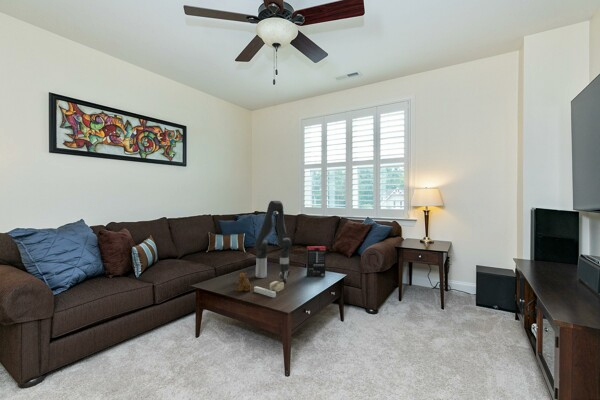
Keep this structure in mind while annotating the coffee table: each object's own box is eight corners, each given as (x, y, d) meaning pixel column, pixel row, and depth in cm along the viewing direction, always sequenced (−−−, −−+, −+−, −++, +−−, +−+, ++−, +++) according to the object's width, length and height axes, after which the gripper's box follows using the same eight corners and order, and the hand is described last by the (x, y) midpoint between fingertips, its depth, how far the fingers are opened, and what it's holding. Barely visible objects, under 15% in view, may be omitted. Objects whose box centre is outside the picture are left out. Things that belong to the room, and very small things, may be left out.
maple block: (269, 290, 219) (269, 283, 219) (275, 287, 226) (275, 280, 226) (278, 291, 215) (278, 285, 215) (283, 288, 222) (283, 282, 222)
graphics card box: (324, 274, 260) (324, 245, 259) (325, 276, 253) (326, 246, 252) (306, 275, 258) (306, 245, 257) (307, 277, 251) (307, 247, 251)
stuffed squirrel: (244, 286, 227) (244, 270, 226) (255, 290, 217) (255, 273, 217) (233, 289, 219) (233, 273, 219) (244, 294, 210) (244, 276, 209)
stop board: (254, 291, 215) (254, 287, 215) (256, 290, 217) (256, 286, 217) (273, 297, 203) (273, 292, 203) (275, 296, 205) (275, 291, 205)
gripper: (286, 260, 235) (286, 280, 235) (275, 263, 224) (275, 284, 225) (293, 261, 230) (293, 282, 231) (282, 264, 220) (282, 286, 220)
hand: (284, 283), depth 228 cm, fingers closed
